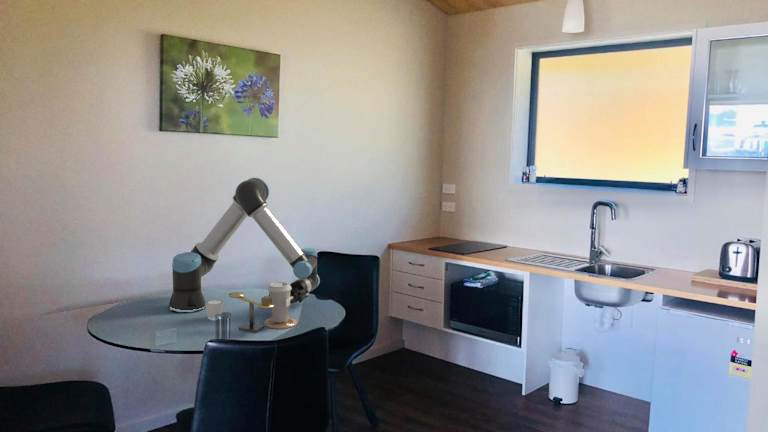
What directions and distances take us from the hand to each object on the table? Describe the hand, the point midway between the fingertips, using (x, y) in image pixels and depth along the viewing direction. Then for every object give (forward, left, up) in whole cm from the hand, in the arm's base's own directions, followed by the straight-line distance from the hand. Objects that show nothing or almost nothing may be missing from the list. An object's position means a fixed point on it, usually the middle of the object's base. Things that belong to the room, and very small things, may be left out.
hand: (276, 302), depth 248 cm
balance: (-8, -6, -10) cm, 14 cm away
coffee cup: (0, +4, -9) cm, 9 cm away
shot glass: (-28, 0, -10) cm, 30 cm away
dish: (0, +4, -10) cm, 11 cm away
